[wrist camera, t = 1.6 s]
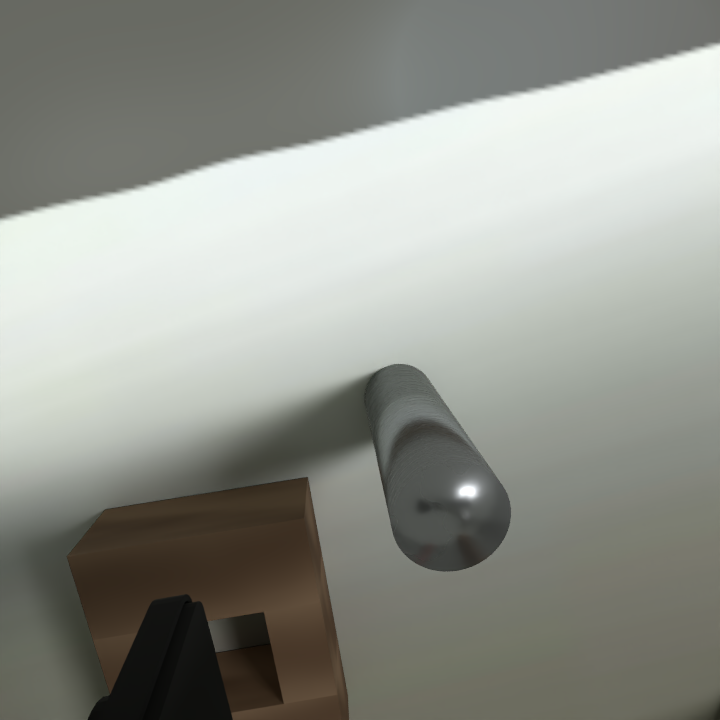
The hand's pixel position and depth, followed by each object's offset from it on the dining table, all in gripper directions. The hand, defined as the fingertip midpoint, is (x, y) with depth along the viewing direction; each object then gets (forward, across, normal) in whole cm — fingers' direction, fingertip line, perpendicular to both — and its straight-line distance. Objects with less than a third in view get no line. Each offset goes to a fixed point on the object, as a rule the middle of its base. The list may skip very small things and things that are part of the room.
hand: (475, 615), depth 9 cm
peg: (+14, -1, +1) cm, 14 cm away
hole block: (+14, +8, +10) cm, 19 cm away
